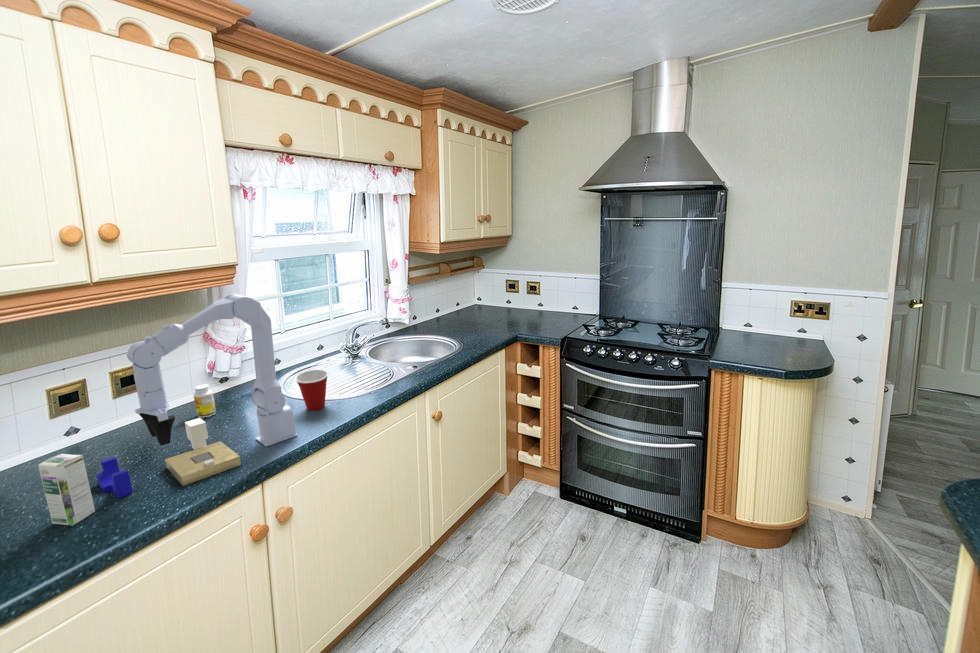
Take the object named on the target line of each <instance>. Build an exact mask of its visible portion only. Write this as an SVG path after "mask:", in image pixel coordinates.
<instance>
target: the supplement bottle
mask: <svg viewBox="0 0 980 653" xmlns="http://www.w3.org/2000/svg"><path fill="white" fill-rule="evenodd" d="M194 389H195V390H194V391H195V392H194V393H193V399H194V404H195V410H196V416H197V418H201V419H204V418H205V417H206V418H210V417H213V416H214V415H215V414H216V413H217V412H216V406H215V405H216V403H215V398H214V393H213V390H212V389H210V387H209V384H200V385H197V386H195V388H194ZM212 415H213V416H212ZM206 418H205V419H206Z"/></svg>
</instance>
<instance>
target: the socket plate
mask: <svg viewBox="0 0 980 653" xmlns="http://www.w3.org/2000/svg"><path fill="white" fill-rule="evenodd" d="M206 445H207V446H204V447H201V448H198V449H195V450H194V449H192V450H189V451H186V452H182V453H180V454H176V455H174V456H170V457H168V458H165V459H164V461H165V466H166V469H167V470H168V471H169V472H170V473H171V474H172V476H173V477H175V479H176V480H177V481H178V482H179V483H180V484H181V486H182V487H184V486H187V485H190V484H192V483H194V482H195V483H196V482H198V481H200V480H204V479H206V478H209V477H211V475H212V476H214V475H216V474H217V475H218V474H219V473H222V472H225V471H228V470H230V469H233V468H235V467H239V466H241V465H242V464H241V456H240V455H239V454H237V452H235V451H234V450H232V449H231V448H230V447H229V446H227V445H226V444H225V443H224V442H223V441H216V442H213V443H211V444H206ZM205 453H209V454H210V455H211V456H212V457H213V458H211V459H208V460H205V461H202V462H199V463H195V462H193V461H192V458H194V457H197V456H200V455H203V454H205Z"/></svg>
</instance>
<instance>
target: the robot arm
mask: <svg viewBox="0 0 980 653" xmlns="http://www.w3.org/2000/svg"><path fill="white" fill-rule="evenodd" d="M235 318H236V319H238V320H241V321H242V322H244V323H246V324H247V325H248V326H250V330H251V331H250V332H251V339H252V349H253V360H254V372H255V380H254V382H253V391H252V393H251V396H250V397H251V398H250V399H251V402H252V403H253V404H254V405H255V406H256V418H257V425H258V431H259V435H258V436H255V440H257V441H258V442H259V443H260V444H263V446H265V447H270V446H272V445H274V444H278V443H281V442H283V441H285V440H289V439H291V438H295V437H298V433H297V430H296V423H295V416H294V412H293V409H292V408H291V407H290V406H289V405H288V404H287V405H286V401H287V400H286V397H285V395H284V394H283V391H282V386H281V384H280V383H279V381H278V379H277V374H276V364H275V363H276V362H275V351H274V340H273V330H272V329H273V328H272V320H271V317H270V316H269V314H268V313H267V312H266V311H265V310H264V308H263V306H262V305H261V302H259V301H258V300H256V299H254V298H253V297H250V296H244V295H241V294H238V293H230V294H228V295H227V296H225V297H223V298H220V299H217V301H215V302H214V303H212V304H210V305H209V306H207V307H206V308H204V309H203V310H201V311H199V312H198V313H197V314H194V315H193V316H192V317H190V318H189V319H188V320H186V321H184V322H183V323H181V324H178V323H171V324H167V323H166V324H164V325H163V326H162V329H161V330H159V331H157V332H156V333H154V334H152V335H150V336H148V335H146V336H145V337H144V338H143V340H144V341H142V340H141V341H136V342H134V343H133V344H131V345H130V346H129V348H128V349H127V354H126V357H127V359H128V360H129V361H130V362H131V363H132V370H133V379H134V383H135V388H136V391H137V396H138V397H137V399H138V402H139V406H140V407H139V408H136V409H134V412H135V413H136V414H138V415H139V416H140V417H141V419H142V421H143V422H144V423H145V425H146V428H147V429H148V432H149V434H150V435H151V437H152V438H154V437H156V439H157V441H158V444H159V445H160V446H165V445H168V444H170V443H171V440H172V439H171V438H172V428H173V424H174V422H175V419H176V417H175V415H173V414H172V415H169V414H168V409H169V407H170V405H169V401H167V400H168V399H167V394H166V389H165V384H164V379H163V373H162V369H161V366H160V362H161V360H162V358H163V357H165V356H167V355H169V354H170V353H172V352H173V351H175V350H177V349H178V348H180V347H181V346H183V345H185V344H186V343H188V341H189V339H190V335H192V334H195V332H198V331H199V330H201V329H203V328H205V327H207V326H208V325H210V324H212V323H214V322H216V321H218V320H234V319H235Z"/></svg>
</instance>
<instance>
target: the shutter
mask: <svg viewBox="0 0 980 653" xmlns="http://www.w3.org/2000/svg"><path fill="white" fill-rule="evenodd" d="M211 458H213V457H212V456H211V455H210V454H209V453H205V454H203V455H200V456H197V457H194V458H192V461H193V462H195V463H199V462H202V461H205V460H208V459H211Z"/></svg>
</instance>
